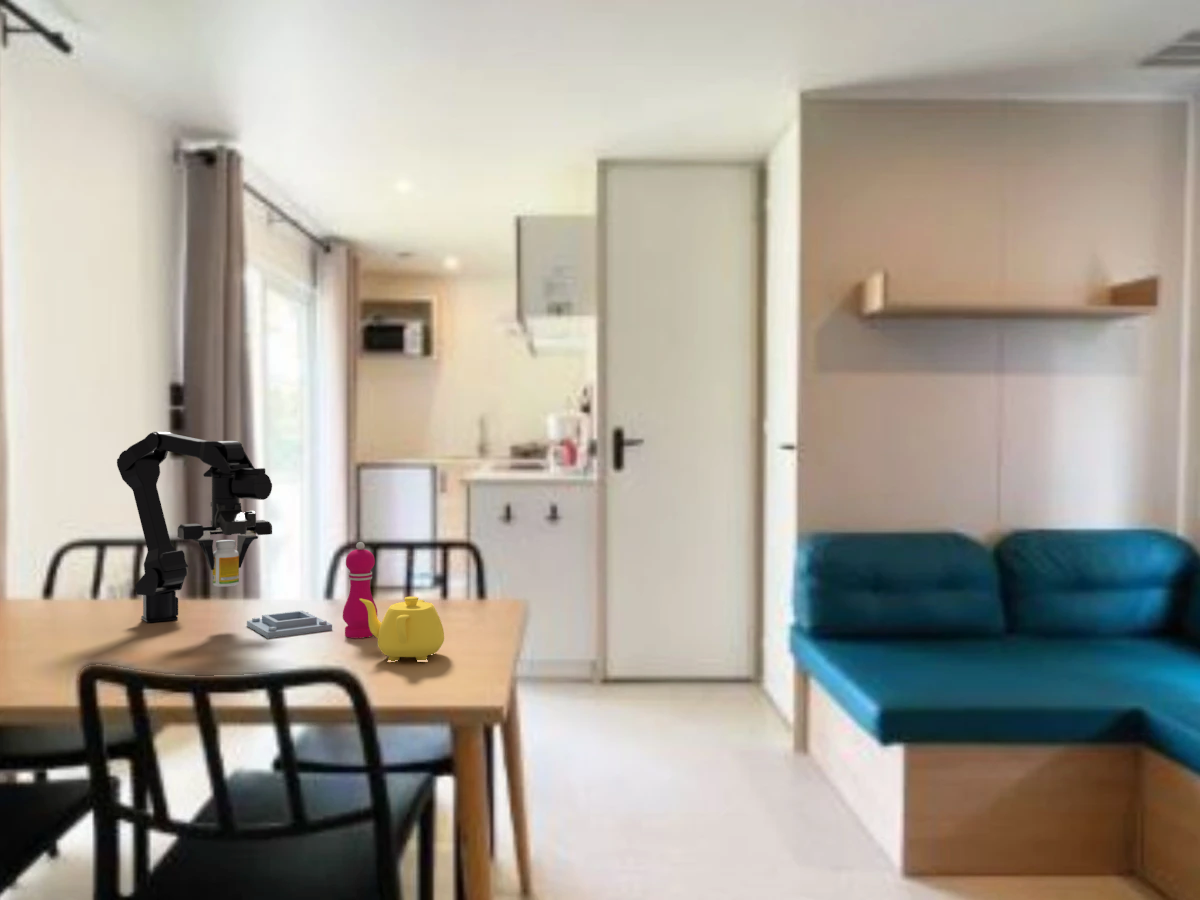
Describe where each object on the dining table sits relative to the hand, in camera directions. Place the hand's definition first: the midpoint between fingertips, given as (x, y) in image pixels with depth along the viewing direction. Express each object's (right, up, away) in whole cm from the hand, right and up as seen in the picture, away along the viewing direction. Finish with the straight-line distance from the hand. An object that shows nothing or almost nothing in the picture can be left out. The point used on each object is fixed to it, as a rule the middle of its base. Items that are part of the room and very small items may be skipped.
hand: (225, 568), depth 208 cm
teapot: (+44, -15, -24) cm, 52 cm away
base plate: (+14, -13, 0) cm, 19 cm away
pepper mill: (+31, -14, -6) cm, 34 cm away
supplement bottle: (0, -4, 0) cm, 4 cm away
